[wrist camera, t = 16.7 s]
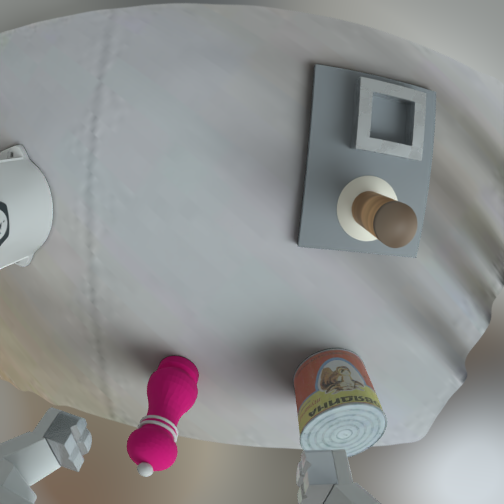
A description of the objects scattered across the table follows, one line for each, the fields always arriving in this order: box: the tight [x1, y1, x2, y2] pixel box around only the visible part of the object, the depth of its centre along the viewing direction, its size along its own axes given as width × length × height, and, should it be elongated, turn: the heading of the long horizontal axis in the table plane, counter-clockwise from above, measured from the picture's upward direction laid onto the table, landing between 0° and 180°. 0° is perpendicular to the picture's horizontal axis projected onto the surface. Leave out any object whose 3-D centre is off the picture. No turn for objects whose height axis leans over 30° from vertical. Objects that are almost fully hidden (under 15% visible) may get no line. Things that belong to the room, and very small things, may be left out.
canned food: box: [293, 348, 387, 457], centre depth 40 cm, size 11×11×12 cm
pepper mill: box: [127, 356, 199, 477], centre depth 36 cm, size 7×7×20 cm
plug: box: [352, 191, 417, 248], centre depth 32 cm, size 4×4×9 cm
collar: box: [350, 77, 426, 161], centre depth 32 cm, size 8×8×2 cm
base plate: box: [297, 64, 436, 258], centre depth 36 cm, size 16×22×1 cm
